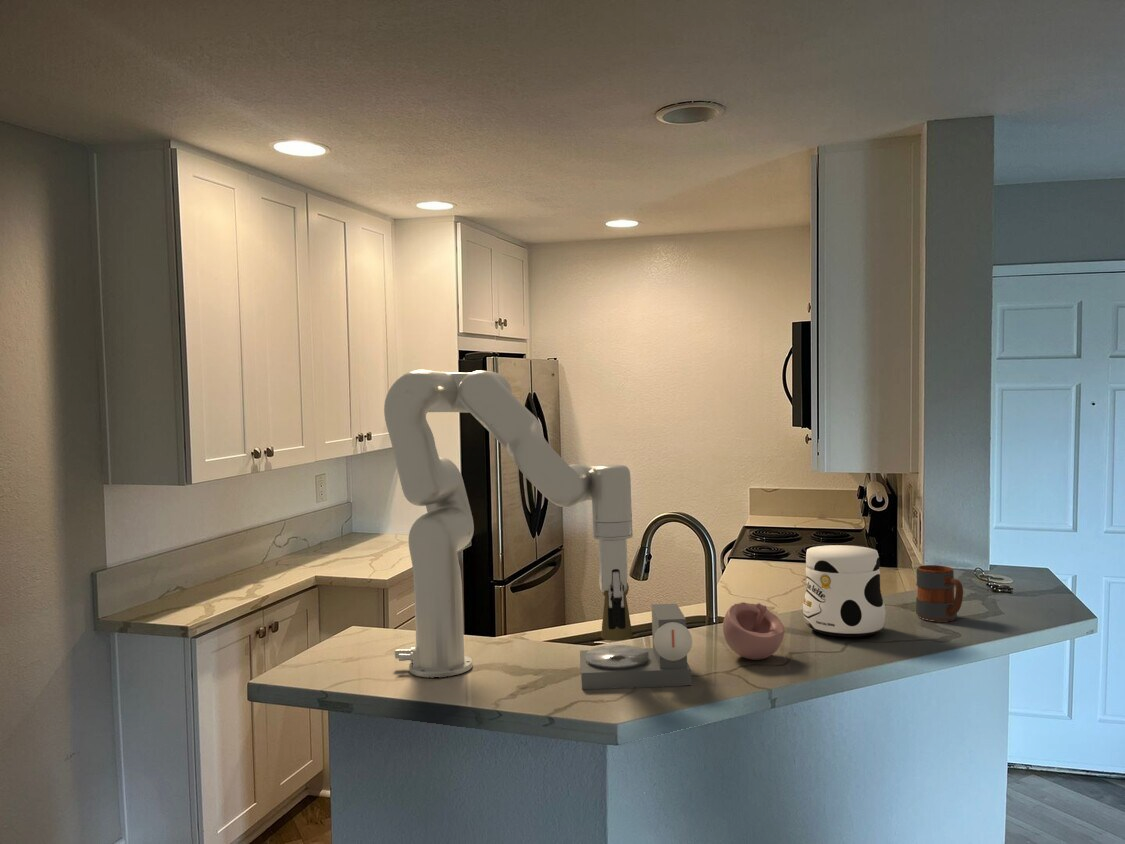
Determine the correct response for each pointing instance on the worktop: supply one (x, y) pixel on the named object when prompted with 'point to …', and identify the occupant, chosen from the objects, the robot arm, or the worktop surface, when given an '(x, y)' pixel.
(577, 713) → the worktop surface
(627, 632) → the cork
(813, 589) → the milk container
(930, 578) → the mug
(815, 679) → the worktop surface
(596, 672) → the scale
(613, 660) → the scale pan
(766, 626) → the mortar and pestle
